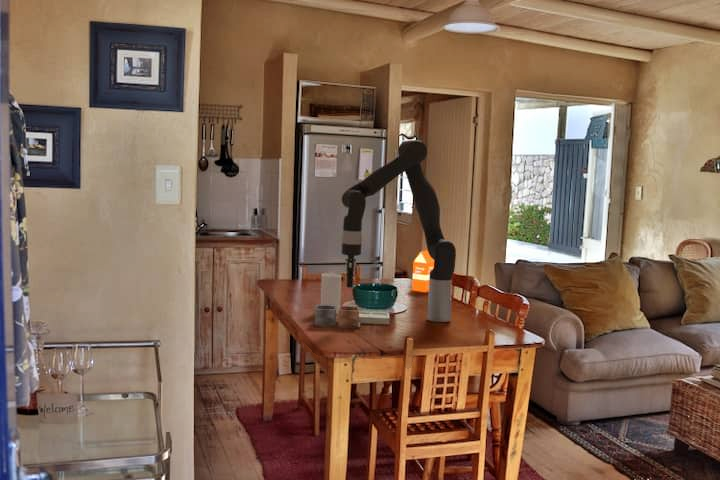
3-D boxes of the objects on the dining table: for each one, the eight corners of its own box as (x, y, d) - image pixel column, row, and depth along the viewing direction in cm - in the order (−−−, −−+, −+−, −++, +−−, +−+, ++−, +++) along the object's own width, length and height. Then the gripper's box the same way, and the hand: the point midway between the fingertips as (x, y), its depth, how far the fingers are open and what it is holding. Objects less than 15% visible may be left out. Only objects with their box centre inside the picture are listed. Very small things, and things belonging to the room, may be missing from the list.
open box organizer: (360, 323, 274) (360, 306, 273) (359, 328, 265) (360, 311, 264) (314, 321, 274) (315, 304, 273) (312, 326, 265) (313, 309, 264)
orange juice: (433, 289, 351) (435, 250, 349) (425, 292, 344) (427, 252, 341) (419, 287, 355) (421, 249, 353) (411, 290, 348) (413, 250, 346)
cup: (337, 315, 286) (338, 277, 284) (318, 313, 287) (319, 275, 286) (341, 311, 294) (343, 274, 292) (323, 309, 295) (324, 272, 294)
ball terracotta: (355, 285, 270) (356, 274, 269) (355, 288, 265) (355, 276, 265) (344, 285, 270) (344, 274, 269) (343, 287, 265) (344, 276, 265)
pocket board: (388, 318, 283) (389, 312, 283) (389, 324, 274) (389, 318, 273) (352, 317, 283) (352, 311, 283) (351, 322, 274) (351, 316, 274)
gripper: (361, 245, 258) (359, 290, 260) (361, 240, 272) (360, 283, 274) (341, 244, 258) (339, 289, 260) (342, 239, 273) (341, 282, 275)
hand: (349, 285), depth 267 cm, fingers closed on ball terracotta, 4 cm apart
